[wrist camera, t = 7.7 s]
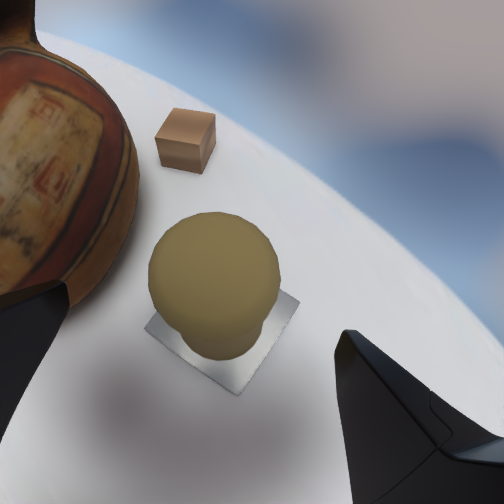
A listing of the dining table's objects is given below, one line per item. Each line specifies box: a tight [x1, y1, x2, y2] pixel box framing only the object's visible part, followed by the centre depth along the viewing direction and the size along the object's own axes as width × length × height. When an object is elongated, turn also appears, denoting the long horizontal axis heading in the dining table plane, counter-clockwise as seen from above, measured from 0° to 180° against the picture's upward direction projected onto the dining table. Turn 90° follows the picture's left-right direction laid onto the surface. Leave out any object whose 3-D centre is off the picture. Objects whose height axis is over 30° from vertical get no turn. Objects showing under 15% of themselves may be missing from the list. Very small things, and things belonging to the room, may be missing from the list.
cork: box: [148, 212, 281, 361], centre depth 15 cm, size 6×6×11 cm
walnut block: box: [155, 108, 216, 174], centre depth 25 cm, size 4×4×4 cm
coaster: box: [144, 289, 300, 396], centre depth 20 cm, size 8×8×1 cm
